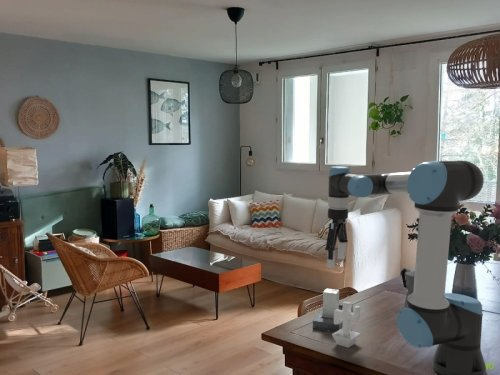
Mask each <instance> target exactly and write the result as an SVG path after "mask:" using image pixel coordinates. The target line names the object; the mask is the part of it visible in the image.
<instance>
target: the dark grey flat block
mask: <svg viewBox="0 0 500 375" xmlns="http://www.w3.org/2000/svg"><path fill="white" fill-rule="evenodd" d="M342 309H343V302H339V310H342ZM351 312H352V313H354V304H353V303H351ZM342 324H343V320H342V318H339V324H337V325H335V324H334V320H331V319H325V318H323V308H322V309H321V310H320V312H318V314H317V315H316V316H315V318H314V319H313V320H312V329H315V330H321V331H326V332H333V333H335V332H337V331H338V330H340V329H342Z"/></svg>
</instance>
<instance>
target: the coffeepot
mask: <svg viewBox="0 0 500 375" xmlns="http://www.w3.org/2000/svg"><path fill="white" fill-rule="evenodd" d="M400 275H401V280H402V284H403V287H404V288H405V289H407V293H406V297H405V301H404V306H403V308H407V298H408V296H409V295H410V294H412V293H413V291H414V278H415V270H411V269H407V268H405V267H404V268H403V269H402V270H401V271H400Z"/></svg>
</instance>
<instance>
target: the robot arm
mask: <svg viewBox="0 0 500 375" xmlns="http://www.w3.org/2000/svg"><path fill="white" fill-rule="evenodd" d="M350 170H351V169H350V168H349V167H348V166H339V165H338V166H337V165H336V166H330V168H329V174H328V198H327V199H326V200H327V201H328V202H327V206H328V208H327V219H330V220H332V222H330V223H329V224H328V232H327V239H326V245H325V248H324V250H325V251H327V252H326V253H327V256H326V268H328V269H335V268H336V266H335V264H336V258H337V259H339V260H345V259H346V257H345V256H346V243H348V241H349V240H348V234H347V226H346V225H347V224H346V223H347V222H346V221H347V220H348V218H349V209H348V208H349V206H350V205H349V203H350V199H349V198H350V197H349V196H352V197H355V198H367V197H368V196H379V195H380V196H381V195H408V197H409V199H410V200H411V201H412V202H413V203H414V206H413V208H414V209H415V210H416V211H417V212H418V214H419V216H418V228H417V240H416V253H415V254H416V256H415V264H414V265H415V267H414V271H415V278H414V291H413V293H412V294H410V295H409V296H408V298H407V308H404V307H403V308H402V309H400V310H399V311H398V313H397V316H396V319H397V320H396V323H397V327H398V330H399V333H400V334H401V336H402V338H403V339H404V341H405V342H406V343H407V344H409V345H410V346H412V347H414V348H417V349H423V348H431V347H432V346H433V347H434V346H437V347H436V350H435V352H434V355H433V357H432V368H433V369H434V371H435V372H436V373H438V374H440V375H486V374H487V366H486V362H485V359H484V355H483V353H482V350H481V348H482V345H481V344H482V328H483V316H484V313H483V304H482V303H481V301H480V300H478V299H477V298H474V297H471V296H468V295H465V294H460V293H454V292H453V293H452V292H449V293H448V292H446V283H447V273H448V272H447V271H448V261H449V260H448V259H449V251H450V250H449V249H450V239H451V225H452V217H453V215H455V214H457V212H459V211H458V210H459V204H460V202H464V201H469V200H471V199H474V198H476V196H477V195H478V194H480V192H481V191H482V189H483V186H484V181H485V180H484V179H485V178H484V174H483V172H482V170H481V169H480V168H479V166H477V165H476V164H475V163H473V162H471V161H468V160H430V161H424V162H421V163H419V164H417V165H415V167H414V168H412V170H411V171H404V172H402V171H401V172H389V173H368V174H354V173H351V171H350ZM337 241H338V242H337ZM336 244H337V257H336V250H335V249H336Z"/></svg>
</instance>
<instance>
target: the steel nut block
mask: <svg viewBox="0 0 500 375" xmlns="http://www.w3.org/2000/svg"><path fill="white" fill-rule="evenodd" d="M322 292H323V293H322V309H323V318H325V319H331V320H334V311H335V310H336V309H339V303H340V289H334V288H325V289H324V291H322Z"/></svg>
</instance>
